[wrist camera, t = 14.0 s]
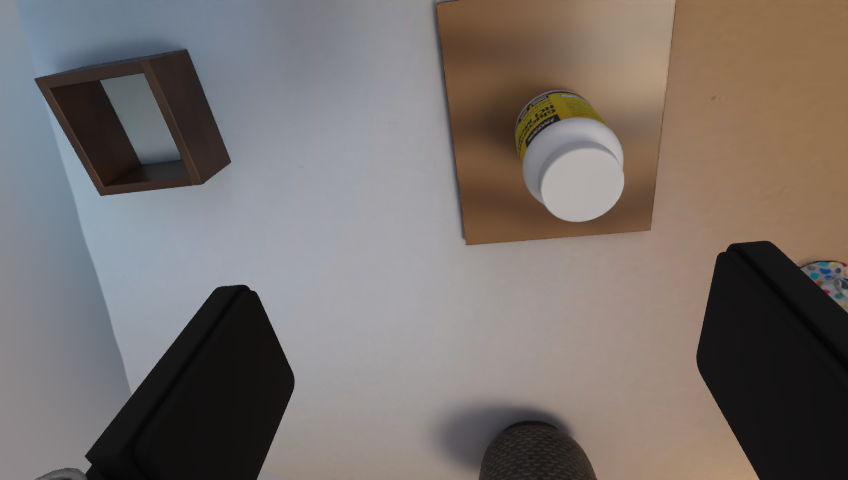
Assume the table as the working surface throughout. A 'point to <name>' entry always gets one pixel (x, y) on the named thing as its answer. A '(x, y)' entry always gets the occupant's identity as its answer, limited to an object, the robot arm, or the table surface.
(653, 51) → the board
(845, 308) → the figurine
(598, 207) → the pill bottle
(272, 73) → the table surface
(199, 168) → the holder
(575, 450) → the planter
